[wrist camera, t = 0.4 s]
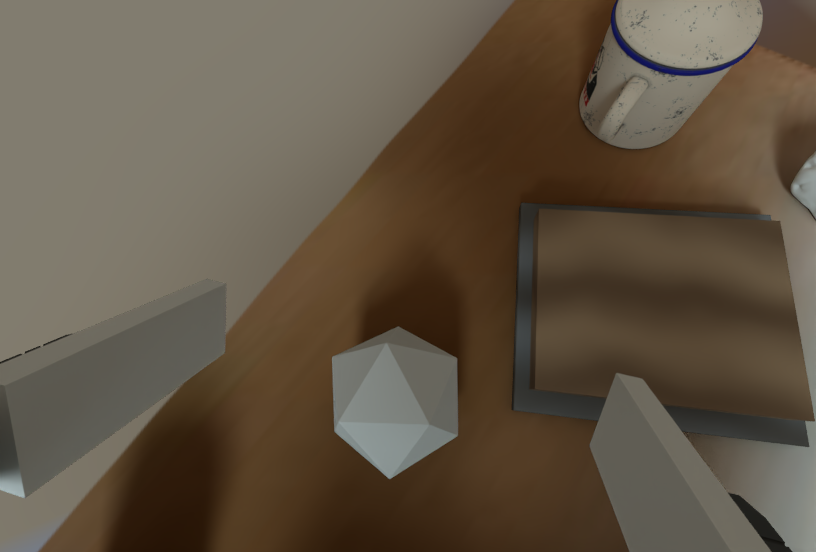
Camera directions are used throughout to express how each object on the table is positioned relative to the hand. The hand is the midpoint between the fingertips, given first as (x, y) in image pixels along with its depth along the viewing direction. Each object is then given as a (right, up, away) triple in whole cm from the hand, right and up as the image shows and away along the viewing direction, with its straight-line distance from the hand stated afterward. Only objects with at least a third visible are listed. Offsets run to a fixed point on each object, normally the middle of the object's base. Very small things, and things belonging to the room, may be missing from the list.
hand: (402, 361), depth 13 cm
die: (0, -6, +16) cm, 17 cm away
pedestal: (+17, 0, +16) cm, 24 cm away
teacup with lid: (+19, +16, +21) cm, 33 cm away
